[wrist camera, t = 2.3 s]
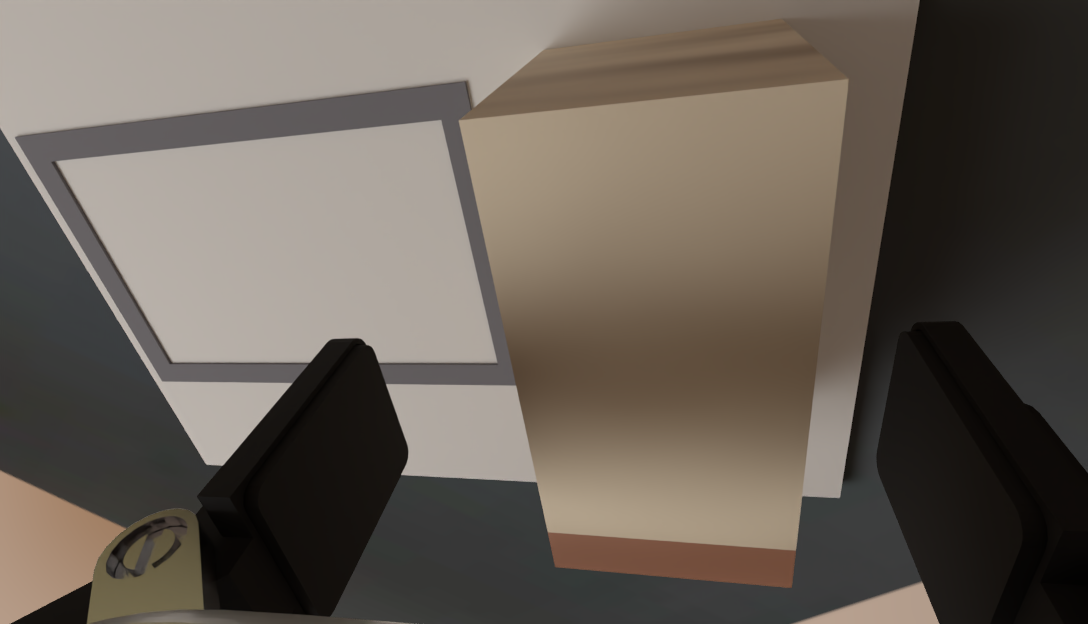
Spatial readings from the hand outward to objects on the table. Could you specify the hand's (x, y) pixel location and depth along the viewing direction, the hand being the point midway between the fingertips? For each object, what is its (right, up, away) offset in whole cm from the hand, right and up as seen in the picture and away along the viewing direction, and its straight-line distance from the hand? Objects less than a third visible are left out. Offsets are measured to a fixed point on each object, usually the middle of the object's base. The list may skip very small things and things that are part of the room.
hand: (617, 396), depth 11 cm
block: (+2, +3, +4) cm, 6 cm away
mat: (-5, +3, +7) cm, 9 cm away
